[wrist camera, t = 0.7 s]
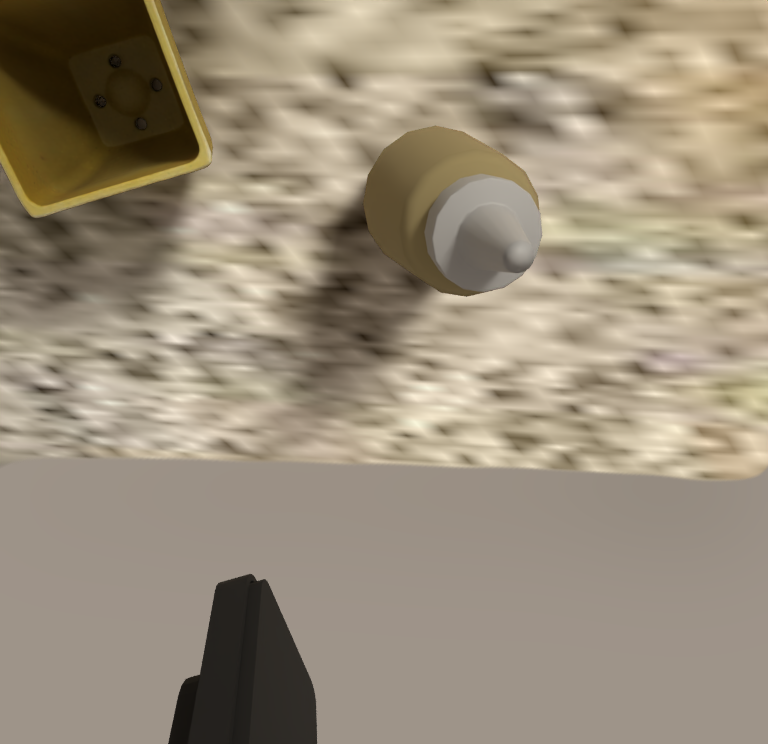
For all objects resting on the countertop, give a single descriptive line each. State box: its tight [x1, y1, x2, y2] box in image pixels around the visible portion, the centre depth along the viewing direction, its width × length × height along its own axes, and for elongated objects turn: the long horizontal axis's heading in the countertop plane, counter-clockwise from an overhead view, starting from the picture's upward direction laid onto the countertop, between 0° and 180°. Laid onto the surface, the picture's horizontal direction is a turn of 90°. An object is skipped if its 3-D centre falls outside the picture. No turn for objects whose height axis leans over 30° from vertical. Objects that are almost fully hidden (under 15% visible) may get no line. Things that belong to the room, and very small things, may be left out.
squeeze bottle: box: [363, 126, 542, 297], centre depth 28 cm, size 8×8×18 cm
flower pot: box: [0, 0, 213, 218], centre depth 28 cm, size 9×9×9 cm
